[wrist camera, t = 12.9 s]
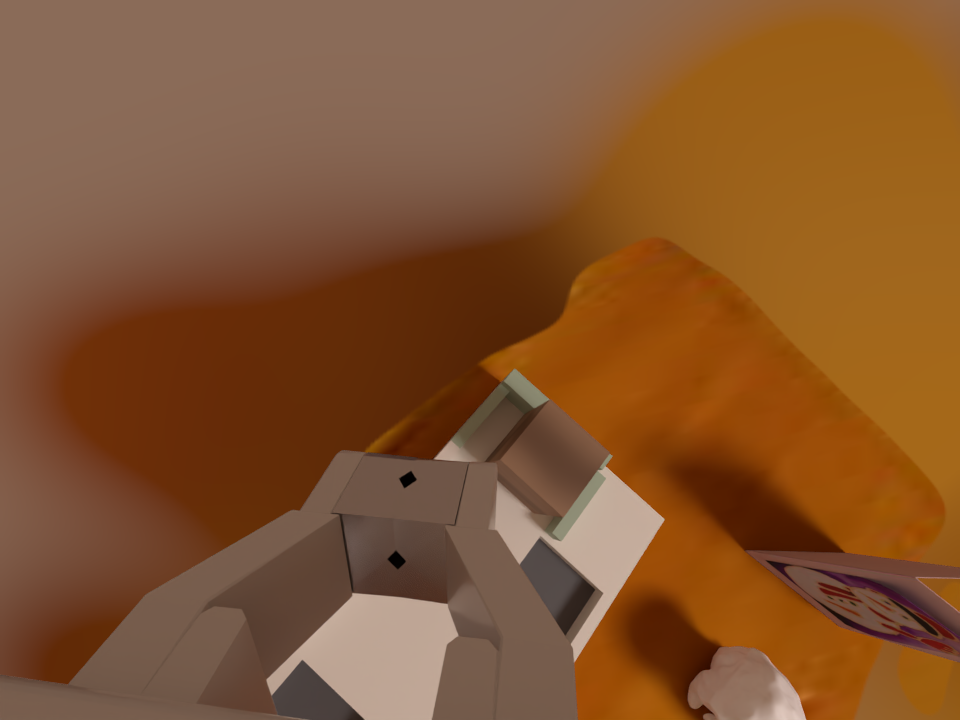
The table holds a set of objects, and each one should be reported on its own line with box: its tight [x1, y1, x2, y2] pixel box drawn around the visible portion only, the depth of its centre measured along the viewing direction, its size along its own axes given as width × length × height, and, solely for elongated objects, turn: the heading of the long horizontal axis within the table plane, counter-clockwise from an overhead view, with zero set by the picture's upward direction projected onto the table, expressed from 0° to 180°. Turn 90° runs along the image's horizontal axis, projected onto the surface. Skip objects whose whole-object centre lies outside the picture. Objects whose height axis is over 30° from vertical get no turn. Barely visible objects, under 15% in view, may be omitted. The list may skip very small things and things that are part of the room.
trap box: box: [267, 369, 665, 720], centre depth 35 cm, size 36×19×5 cm, turn 139°
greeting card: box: [745, 550, 960, 662], centre depth 37 cm, size 11×7×15 cm, turn 53°
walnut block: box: [485, 400, 610, 518], centre depth 37 cm, size 6×6×7 cm
